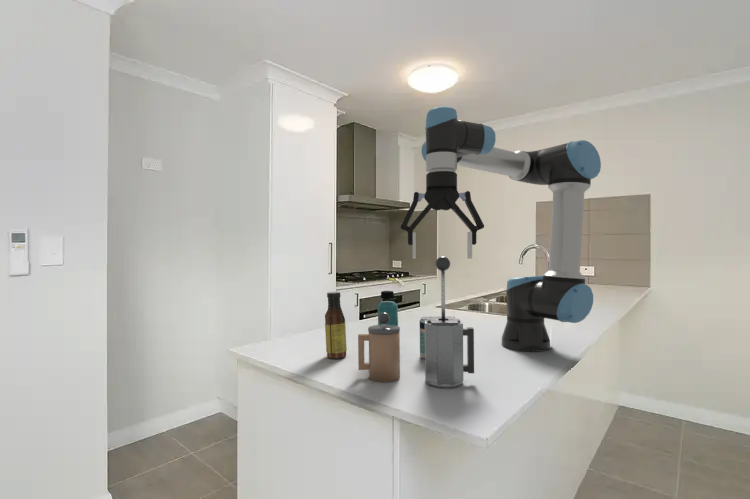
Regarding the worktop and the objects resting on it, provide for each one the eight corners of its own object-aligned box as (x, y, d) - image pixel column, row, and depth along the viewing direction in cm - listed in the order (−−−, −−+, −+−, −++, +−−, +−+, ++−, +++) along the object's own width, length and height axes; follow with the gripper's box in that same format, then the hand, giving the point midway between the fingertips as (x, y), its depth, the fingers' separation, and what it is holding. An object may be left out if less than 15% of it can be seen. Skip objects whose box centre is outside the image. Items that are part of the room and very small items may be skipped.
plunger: (455, 332, 103) (454, 255, 103) (458, 338, 97) (457, 256, 96) (429, 332, 103) (429, 256, 103) (431, 338, 97) (430, 257, 97)
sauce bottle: (350, 355, 125) (349, 291, 125) (340, 360, 119) (339, 293, 119) (332, 352, 128) (331, 290, 128) (321, 358, 122) (320, 293, 122)
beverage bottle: (397, 358, 121) (396, 292, 120) (375, 357, 122) (374, 292, 122) (400, 352, 127) (399, 289, 127) (379, 352, 128) (379, 289, 128)
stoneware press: (400, 372, 108) (399, 309, 108) (400, 382, 100) (399, 315, 100) (360, 371, 109) (360, 309, 109) (357, 382, 101) (356, 315, 101)
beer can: (437, 356, 123) (436, 317, 123) (434, 360, 118) (433, 320, 118) (421, 354, 124) (421, 316, 124) (418, 359, 120) (417, 319, 120)
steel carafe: (470, 376, 104) (470, 316, 104) (476, 389, 95) (476, 323, 95) (424, 375, 105) (424, 316, 105) (426, 388, 96) (425, 323, 96)
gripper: (489, 174, 102) (490, 257, 102) (391, 176, 104) (392, 258, 104) (496, 168, 94) (496, 258, 95) (390, 170, 97) (390, 259, 97)
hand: (441, 258), depth 100 cm, fingers open, 13 cm apart
